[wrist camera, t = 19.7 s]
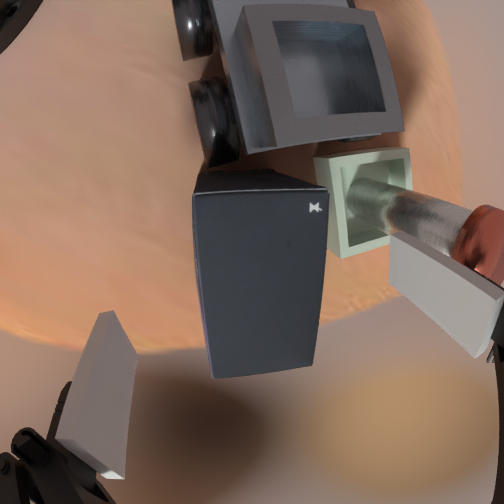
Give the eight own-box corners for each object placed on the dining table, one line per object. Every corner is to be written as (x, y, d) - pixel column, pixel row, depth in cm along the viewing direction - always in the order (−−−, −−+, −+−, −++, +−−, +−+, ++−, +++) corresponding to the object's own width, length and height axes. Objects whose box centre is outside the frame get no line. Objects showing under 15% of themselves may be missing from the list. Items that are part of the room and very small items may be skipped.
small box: (191, 172, 20) (184, 188, 11) (275, 168, 21) (337, 183, 12) (201, 296, 24) (208, 384, 14) (274, 289, 25) (318, 367, 15)
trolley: (173, 12, 15) (162, -69, 5) (311, 0, 16) (373, -59, 6) (206, 166, 20) (213, 178, 10) (347, 140, 22) (439, 142, 12)
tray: (312, 157, 22) (328, 158, 19) (388, 146, 22) (408, 148, 20) (325, 246, 25) (340, 258, 22) (394, 226, 25) (413, 235, 23)
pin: (338, 172, 22) (476, 215, 8) (385, 170, 22) (520, 208, 9) (340, 228, 23) (457, 314, 10) (385, 221, 24) (504, 290, 11)
